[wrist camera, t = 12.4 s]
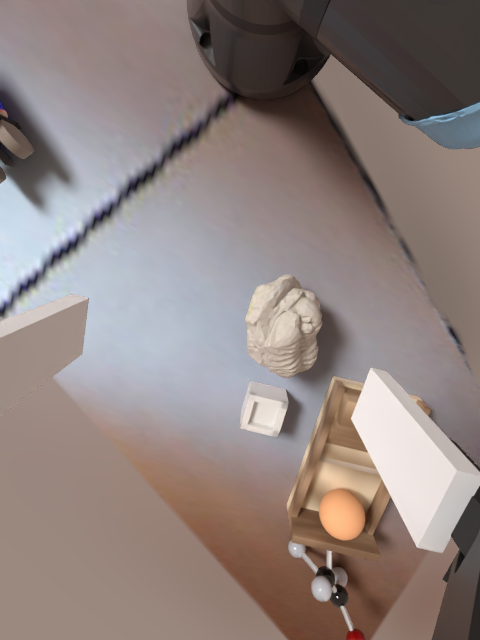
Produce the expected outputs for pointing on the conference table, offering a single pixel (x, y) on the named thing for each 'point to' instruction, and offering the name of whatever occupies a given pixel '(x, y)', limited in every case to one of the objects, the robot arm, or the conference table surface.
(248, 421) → the white open box
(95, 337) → the conference table surface
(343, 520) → the ball
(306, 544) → the wooden stepped tray
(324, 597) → the molecular model
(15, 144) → the figurine character
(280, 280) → the fossil replica
